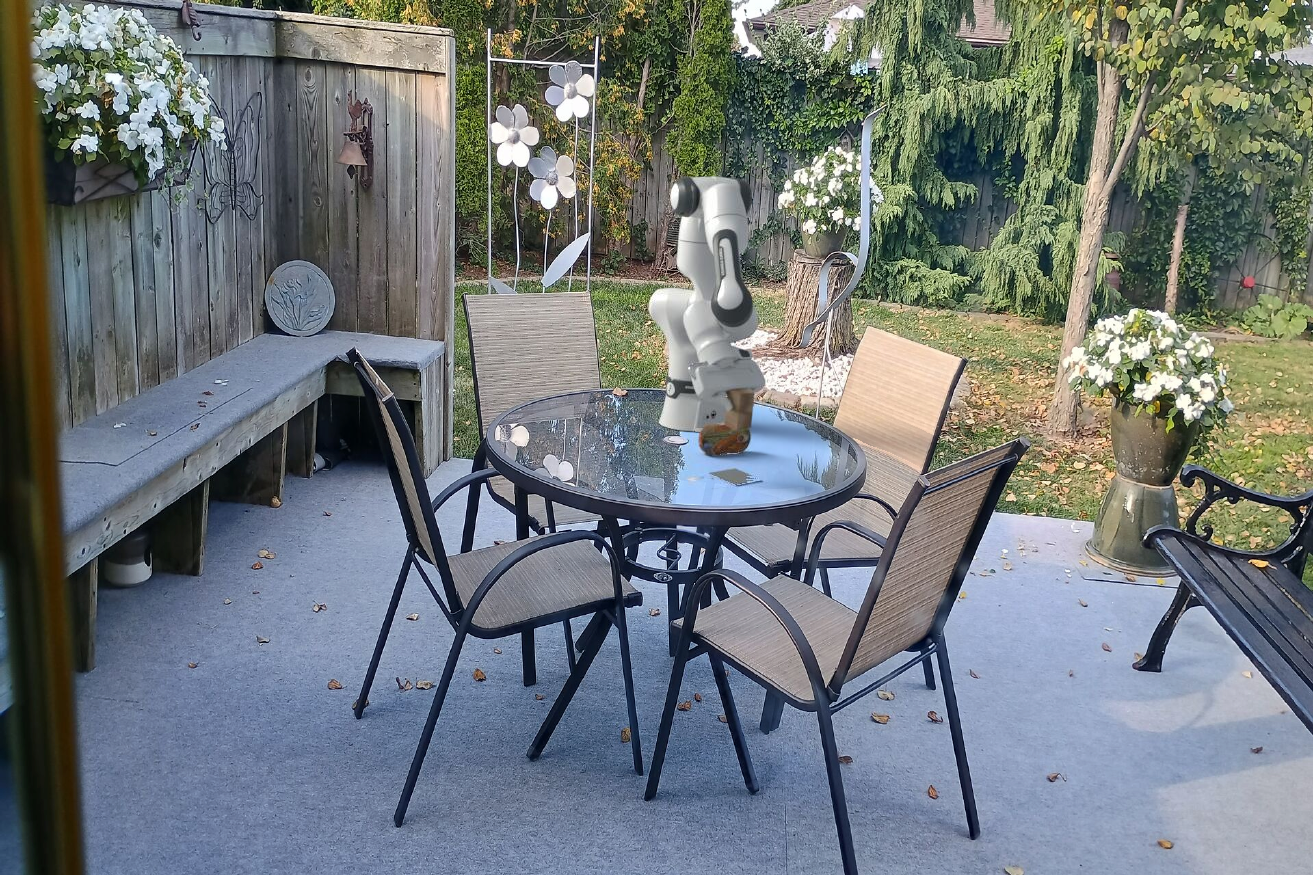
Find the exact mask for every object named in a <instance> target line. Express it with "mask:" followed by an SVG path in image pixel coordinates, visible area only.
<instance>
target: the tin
mask: <svg viewBox="0 0 1313 875" xmlns="http://www.w3.org/2000/svg"><path fill="white" fill-rule="evenodd" d="M751 436H752V435H751V431H750V428H748V429H741V430H735V429H733V428H730V427H728V426H725V423H720V424H710V425H707V426H706V427H704V428H703V429H702V431H701V432H699V435H698V446H699V449H700V450H701V451H702V452H703V453H705V454H706V455H708V456H710V455H717V456H723V455H722V454H727V453H738V452H742V453H743V452H745V451H746V450H747V449H748V447H749V445H750V443H751V438H752V437H751ZM720 454H721V455H720Z"/></svg>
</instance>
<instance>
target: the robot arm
mask: <svg viewBox="0 0 1313 875" xmlns="http://www.w3.org/2000/svg"><path fill="white" fill-rule="evenodd" d="M752 198H753V193H752V189H751V186H750V184H749V183H748V181H746V180H744V179H739V178H729V177H723V176H714V175H713V176H696V177H695V176H694V177H691V176H684V177H680V178H677V179H676V180H675V181H674V183H673V185H672V187H671V190H670V198H669V199H670V206H671V209H672V211H673V212H674V214H675V215H677V216H680V217H681V220H680V224H679V231H678V240H677V252H676V253H677V255H676V265H677V269H678V271H679V272H680V273H681V274H682V275H684V277H686V278H688V279H689V280H690V281H691V284H692V285H693V288H694V290H693V289H686V288H679V287H665V288H658V289H656V290H655V291H654V292H652V293H653V294H652V295H651V297H650V299H649V302H648V313H649V316H650V317H651V319H652V321H653V322H655V323H656V325H657V326H658V327H659V328H660V330H661V331H662V333H663V335H664V337H665V339H666V342H667V346H668V374H667V375H666V380H665V399H664V402H663V408H662V411H661V414H660V417H659V420H658V424H660V426H662V427H665V428H668V429H671V430H675V431H676V430H677V431H684V432H694V431H695V432H697V433H700V432H701V431H702V429H703V428H704V427H706V426H707V425H710V424H720V423H725V415H726V409H727V411H733V410H734V409H735V405H734V402H733V401H731V402H730V400H729V399H728V398H727V393H728V391H729V390H735V389H746V390H749V391H752V392H755V393H759V392H760V391H762V390H763V388H765V386H766V379H765V376H764V374H763V372H762V370H761V367H759V365H758V363H757V362H756V361H755V360H753V358H754V355H753V353H752V351H751V350H748V349H744V348H740V347H737V346H735V345H732V344H733V343H736V342H737V343H738V342H740V341H743V340H745V339H748V338H749V337H751V336H753V335H754V333H755V332H756V331H757V329H758V328H759V324H760V323H759V322H760V320H759V315H758V312H757V309H756V307H755V304H754V300H753V297H752V294H751V292H750V290H749V289H748V287H747V286H746V285H745V283H744V281H743V275H742V267H741V258H740V255H741V254H742V253H744V252H745V250H746V249H747V248H748V246H749V234H750V232H749V222H748V221H749V220H748V216H747V214H749V212H750V210H751V207H752V200H753V199H752ZM754 406H755V402H754V403H753V407H754ZM695 432H694V433H695Z"/></svg>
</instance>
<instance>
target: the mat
mask: <svg viewBox="0 0 1313 875" xmlns="http://www.w3.org/2000/svg"><path fill="white" fill-rule="evenodd" d="M709 474H712V475H714V476H717V477H719V478H720V479H719V478H718V479H719V480H721V479H723V480H725V481H728V482H730V483H733V484H735V485H737V484H742V483H747V481H753V480H746V479H754V478H750V477H747V476H753V475H751V474H750V475H749V473H747V472H745V471H742V470H740V469H738V468H730V469H729V468H728V469H725V470H718V471H713V472H709ZM709 474H708V475H709ZM712 475H711V476H712ZM714 476H713V477H714ZM755 479H756V478H755ZM723 480H722V481H723ZM725 481H724V482H725ZM728 482H727V483H728ZM730 483H729V484H730Z"/></svg>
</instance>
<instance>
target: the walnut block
mask: <svg viewBox="0 0 1313 875" xmlns="http://www.w3.org/2000/svg"><path fill="white" fill-rule="evenodd" d="M755 393H756V392H752V391H749V390H746V389H735V390H729V391H728V393H727V396H726V397H727V398H728V399H729V400H730V402H731V401H733V402H734V405H735V409H734V410H733V411H727V409H726V415H725V426H728V427H730V428H733V429H735V430H741V429H752V422H753V414H754V413H753V411H754V406H753V403H754V404H755V402H754V401H755Z"/></svg>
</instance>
